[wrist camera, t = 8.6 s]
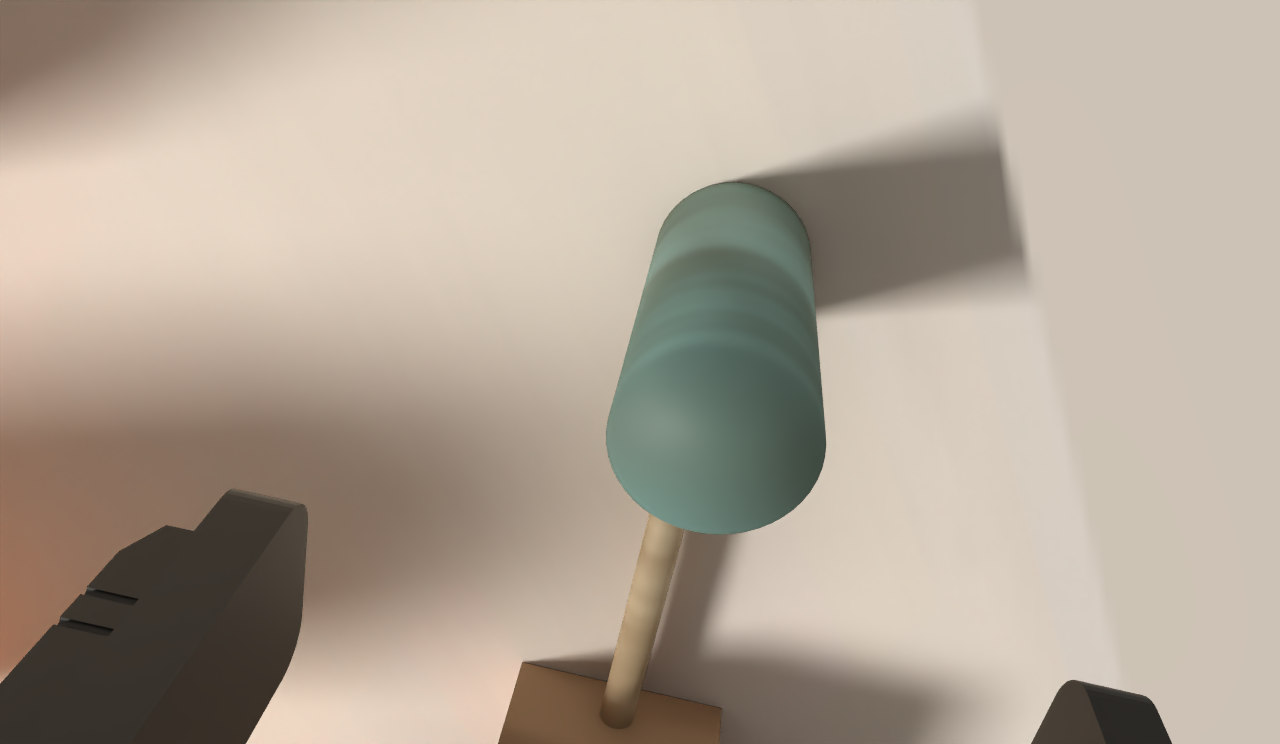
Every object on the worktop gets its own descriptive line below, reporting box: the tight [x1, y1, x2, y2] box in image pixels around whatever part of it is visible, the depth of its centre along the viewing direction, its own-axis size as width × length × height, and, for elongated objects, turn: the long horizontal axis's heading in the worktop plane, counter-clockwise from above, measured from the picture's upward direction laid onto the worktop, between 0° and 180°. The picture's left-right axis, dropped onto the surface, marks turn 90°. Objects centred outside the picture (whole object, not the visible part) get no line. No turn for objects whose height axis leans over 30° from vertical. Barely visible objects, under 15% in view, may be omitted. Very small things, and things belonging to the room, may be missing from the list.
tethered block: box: [498, 183, 826, 744], centre depth 21 cm, size 18×5×7 cm, turn 168°
